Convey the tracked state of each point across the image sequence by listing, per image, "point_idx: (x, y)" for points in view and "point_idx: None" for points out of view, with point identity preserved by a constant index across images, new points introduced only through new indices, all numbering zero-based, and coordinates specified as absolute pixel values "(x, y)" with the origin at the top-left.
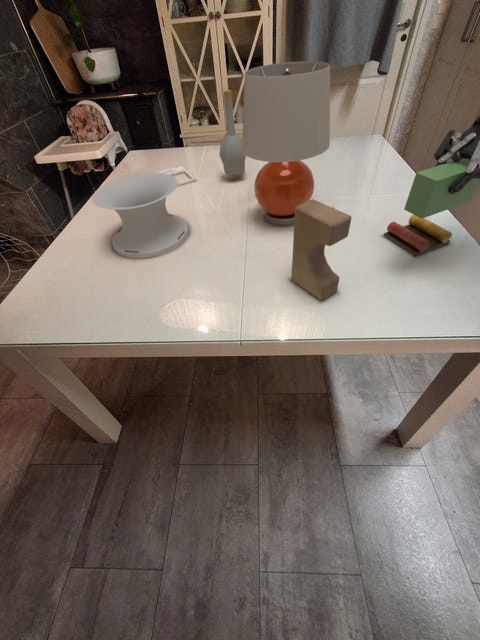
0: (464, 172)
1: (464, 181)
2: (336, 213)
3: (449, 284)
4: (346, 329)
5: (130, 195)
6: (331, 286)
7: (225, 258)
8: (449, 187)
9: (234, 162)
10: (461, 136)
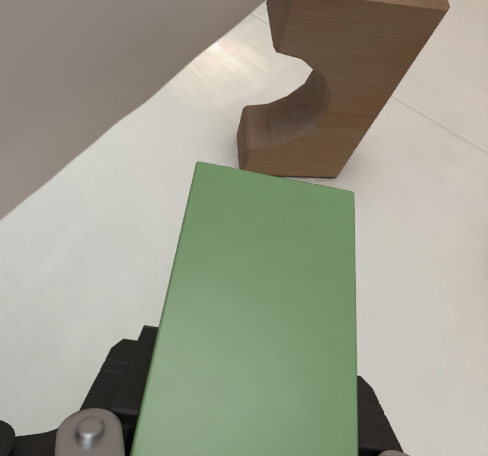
0: (135, 437)
1: (94, 385)
2: None
3: (56, 419)
4: (149, 115)
5: None
6: (242, 134)
7: (458, 102)
8: None
9: None
10: None
